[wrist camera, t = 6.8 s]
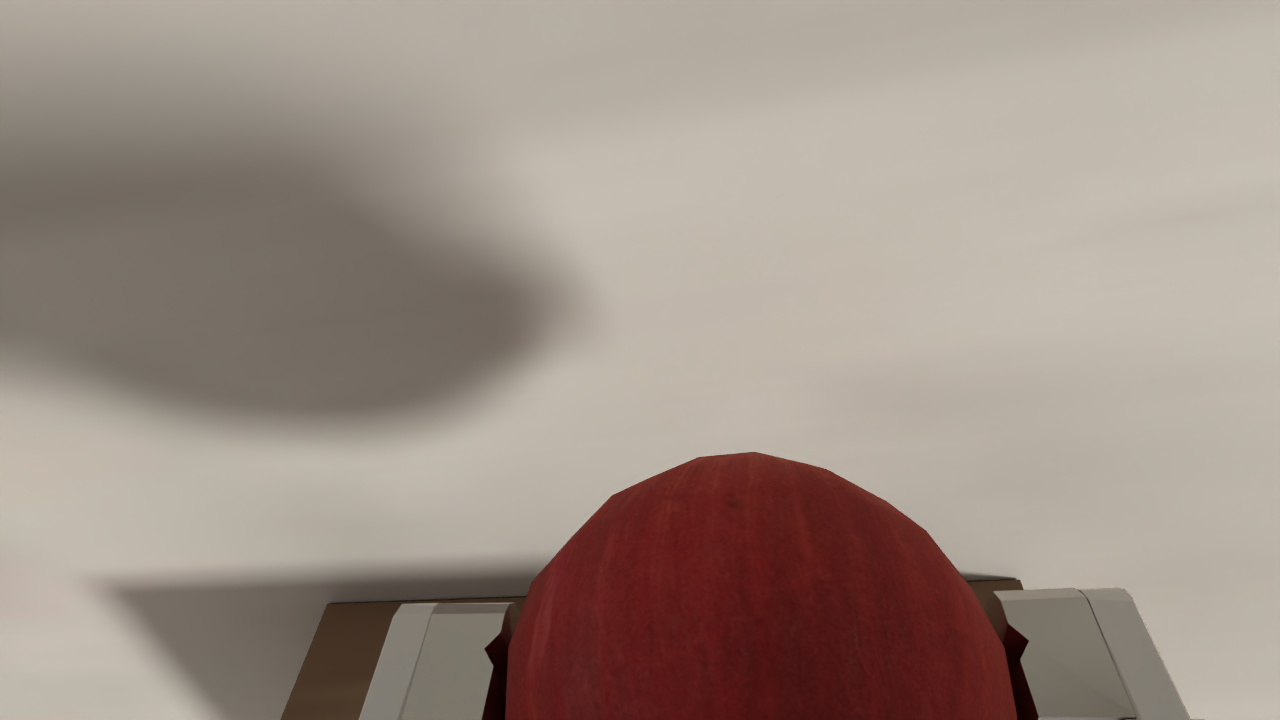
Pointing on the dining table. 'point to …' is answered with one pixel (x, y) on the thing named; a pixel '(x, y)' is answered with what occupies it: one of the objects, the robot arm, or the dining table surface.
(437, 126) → the dining table surface
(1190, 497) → the dining table surface
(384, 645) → the robot arm
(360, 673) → the walnut pedestal
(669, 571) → the onion
